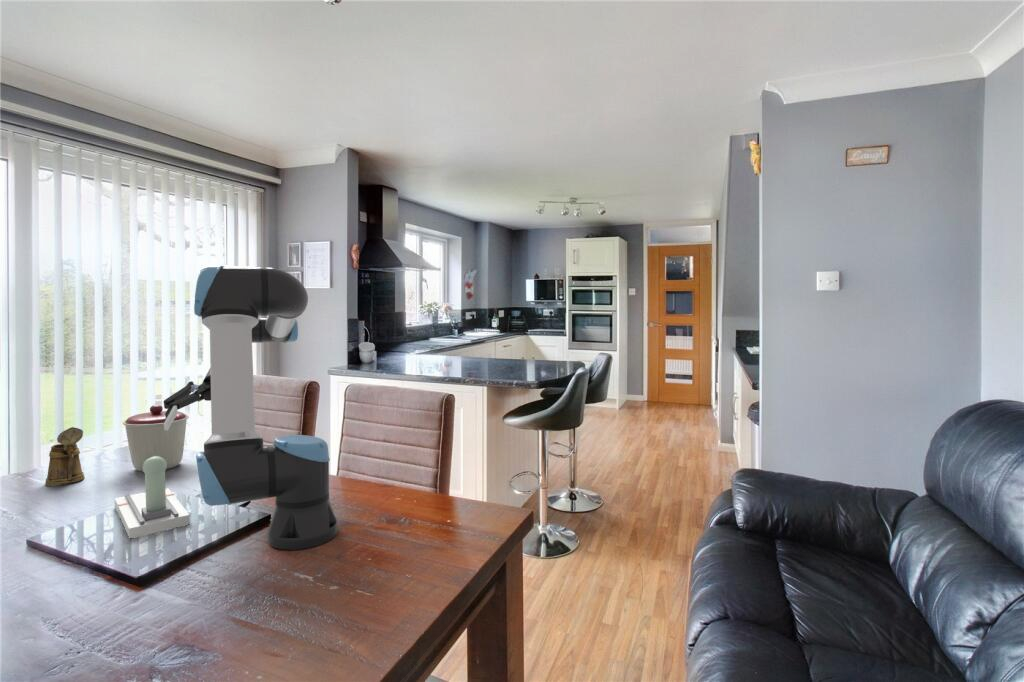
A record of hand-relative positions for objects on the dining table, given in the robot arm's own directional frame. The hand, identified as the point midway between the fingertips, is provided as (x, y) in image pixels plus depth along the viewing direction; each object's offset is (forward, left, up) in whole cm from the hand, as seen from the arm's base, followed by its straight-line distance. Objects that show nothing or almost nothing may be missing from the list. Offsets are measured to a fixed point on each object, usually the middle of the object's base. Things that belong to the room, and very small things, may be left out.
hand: (194, 430), depth 137 cm
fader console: (+1, +10, -21) cm, 23 cm away
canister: (+48, +1, -21) cm, 52 cm away
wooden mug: (+48, +24, -21) cm, 58 cm away
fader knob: (-7, +10, -18) cm, 22 cm away
